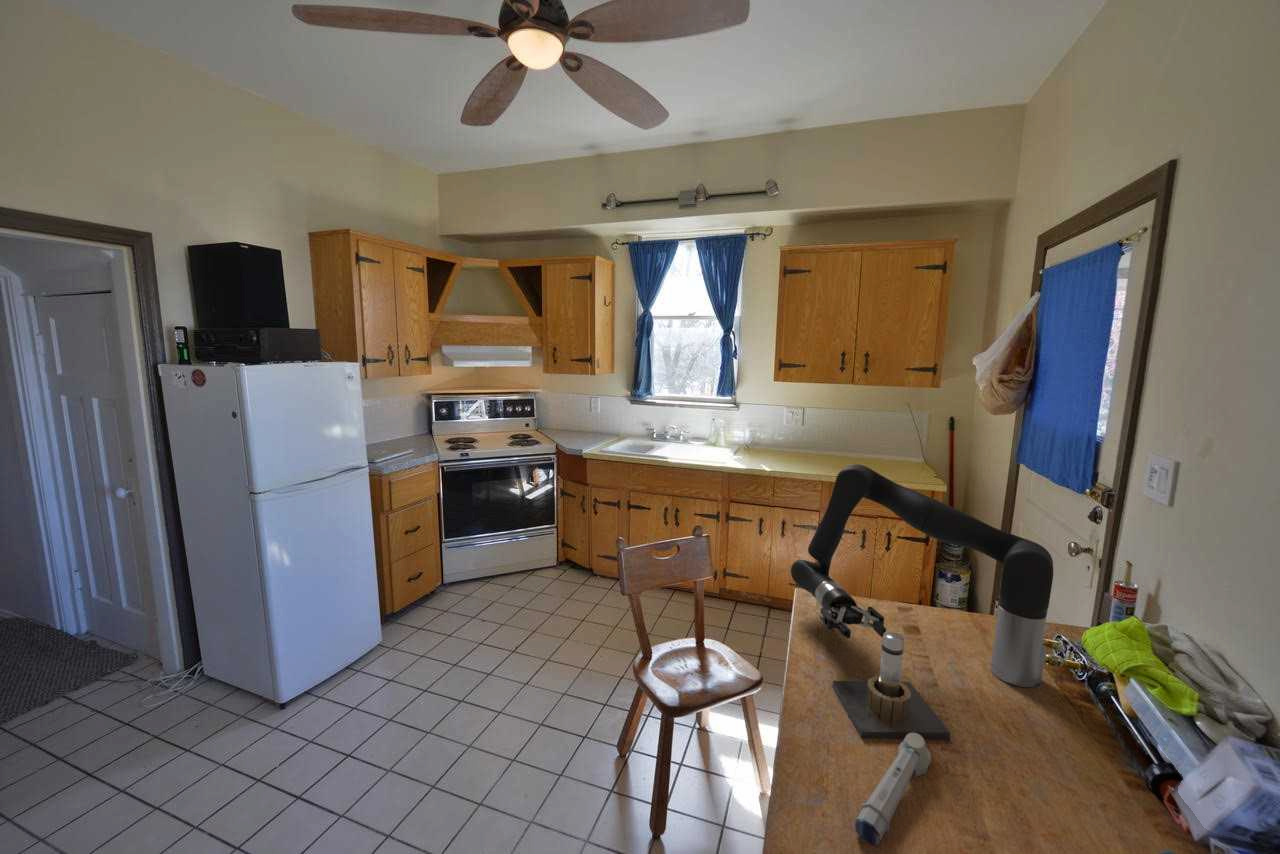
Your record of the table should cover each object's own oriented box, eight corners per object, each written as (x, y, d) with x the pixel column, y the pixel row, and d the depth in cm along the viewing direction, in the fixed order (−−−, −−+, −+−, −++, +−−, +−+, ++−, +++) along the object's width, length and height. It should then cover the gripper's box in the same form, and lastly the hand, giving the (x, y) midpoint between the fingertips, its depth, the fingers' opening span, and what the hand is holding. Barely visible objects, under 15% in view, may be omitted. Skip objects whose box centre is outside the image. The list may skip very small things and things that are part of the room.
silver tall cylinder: (891, 698, 114) (898, 631, 111) (900, 711, 110) (908, 642, 107) (873, 697, 114) (879, 631, 111) (881, 710, 110) (888, 642, 107)
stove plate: (908, 687, 120) (911, 666, 119) (949, 739, 104) (952, 714, 103) (832, 686, 120) (833, 665, 119) (861, 738, 104) (863, 713, 103)
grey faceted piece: (850, 812, 83) (906, 718, 100) (849, 843, 85) (905, 745, 101) (883, 833, 79) (936, 732, 96) (882, 866, 81) (934, 761, 98)
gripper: (809, 588, 135) (838, 620, 119) (861, 586, 136) (897, 618, 120) (808, 614, 136) (836, 650, 120) (859, 612, 137) (894, 647, 121)
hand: (866, 634), depth 120 cm, fingers open, 8 cm apart
